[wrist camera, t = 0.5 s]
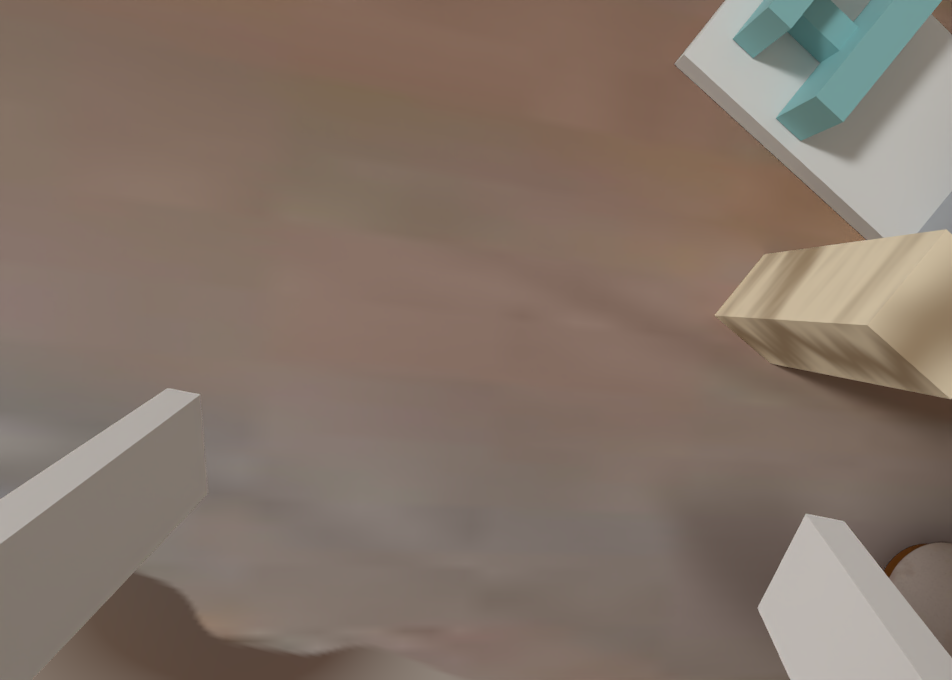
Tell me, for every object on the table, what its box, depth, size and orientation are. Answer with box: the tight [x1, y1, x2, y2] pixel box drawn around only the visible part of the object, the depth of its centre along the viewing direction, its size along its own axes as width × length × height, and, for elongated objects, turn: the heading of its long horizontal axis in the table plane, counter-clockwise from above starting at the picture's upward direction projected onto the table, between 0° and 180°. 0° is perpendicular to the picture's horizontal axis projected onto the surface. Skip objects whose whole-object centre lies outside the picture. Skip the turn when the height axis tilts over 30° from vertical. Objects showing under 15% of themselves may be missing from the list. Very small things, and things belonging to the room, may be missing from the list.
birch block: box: [715, 229, 952, 399], centre depth 32 cm, size 6×6×14 cm
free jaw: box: [733, 0, 942, 141], centre depth 34 cm, size 8×12×4 cm
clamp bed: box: [675, 0, 952, 240], centre depth 35 cm, size 25×14×6 cm, turn 51°
